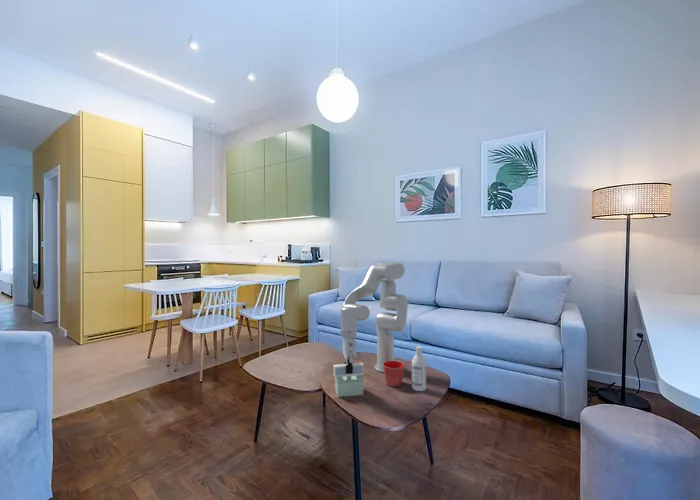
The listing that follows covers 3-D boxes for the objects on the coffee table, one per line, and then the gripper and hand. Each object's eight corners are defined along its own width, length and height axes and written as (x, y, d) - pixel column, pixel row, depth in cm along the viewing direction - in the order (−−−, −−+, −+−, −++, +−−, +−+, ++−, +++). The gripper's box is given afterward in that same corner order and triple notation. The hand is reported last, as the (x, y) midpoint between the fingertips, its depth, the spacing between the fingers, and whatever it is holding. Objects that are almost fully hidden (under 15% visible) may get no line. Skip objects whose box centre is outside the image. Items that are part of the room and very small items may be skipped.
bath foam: (419, 384, 158) (419, 344, 158) (429, 389, 151) (429, 348, 151) (408, 387, 154) (408, 346, 154) (418, 392, 148) (418, 350, 148)
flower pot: (379, 381, 161) (379, 362, 161) (397, 377, 166) (397, 359, 166) (389, 389, 152) (389, 369, 152) (408, 385, 156) (408, 366, 156)
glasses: (362, 373, 152) (362, 362, 152) (363, 375, 149) (363, 364, 149) (333, 375, 149) (333, 364, 149) (334, 377, 146) (334, 366, 146)
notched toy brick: (359, 387, 154) (359, 371, 154) (363, 394, 146) (363, 377, 146) (335, 389, 152) (335, 372, 152) (337, 397, 144) (337, 379, 144)
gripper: (360, 337, 142) (360, 378, 142) (352, 328, 158) (352, 365, 158) (343, 338, 140) (343, 379, 140) (338, 329, 156) (338, 366, 156)
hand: (348, 371), depth 149 cm, fingers closed on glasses, 2 cm apart
